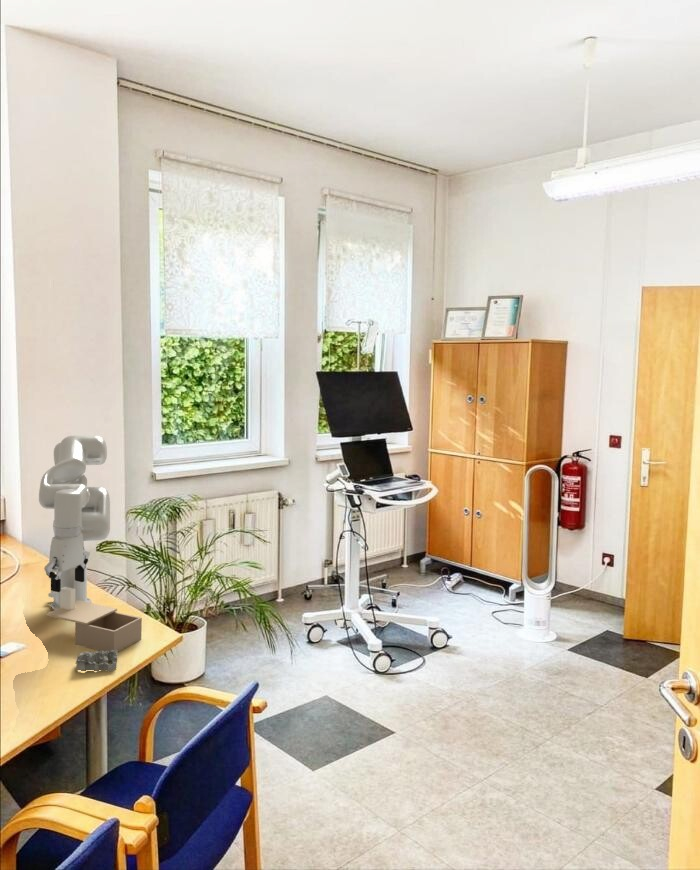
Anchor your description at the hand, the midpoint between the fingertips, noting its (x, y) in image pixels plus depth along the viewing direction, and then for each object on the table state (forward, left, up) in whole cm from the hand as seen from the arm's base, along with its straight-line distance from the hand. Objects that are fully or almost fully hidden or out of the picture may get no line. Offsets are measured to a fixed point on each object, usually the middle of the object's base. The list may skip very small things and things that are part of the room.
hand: (67, 586), depth 213 cm
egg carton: (+24, -15, -15) cm, 32 cm away
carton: (+16, -1, -14) cm, 21 cm away
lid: (+6, -1, -7) cm, 9 cm away
